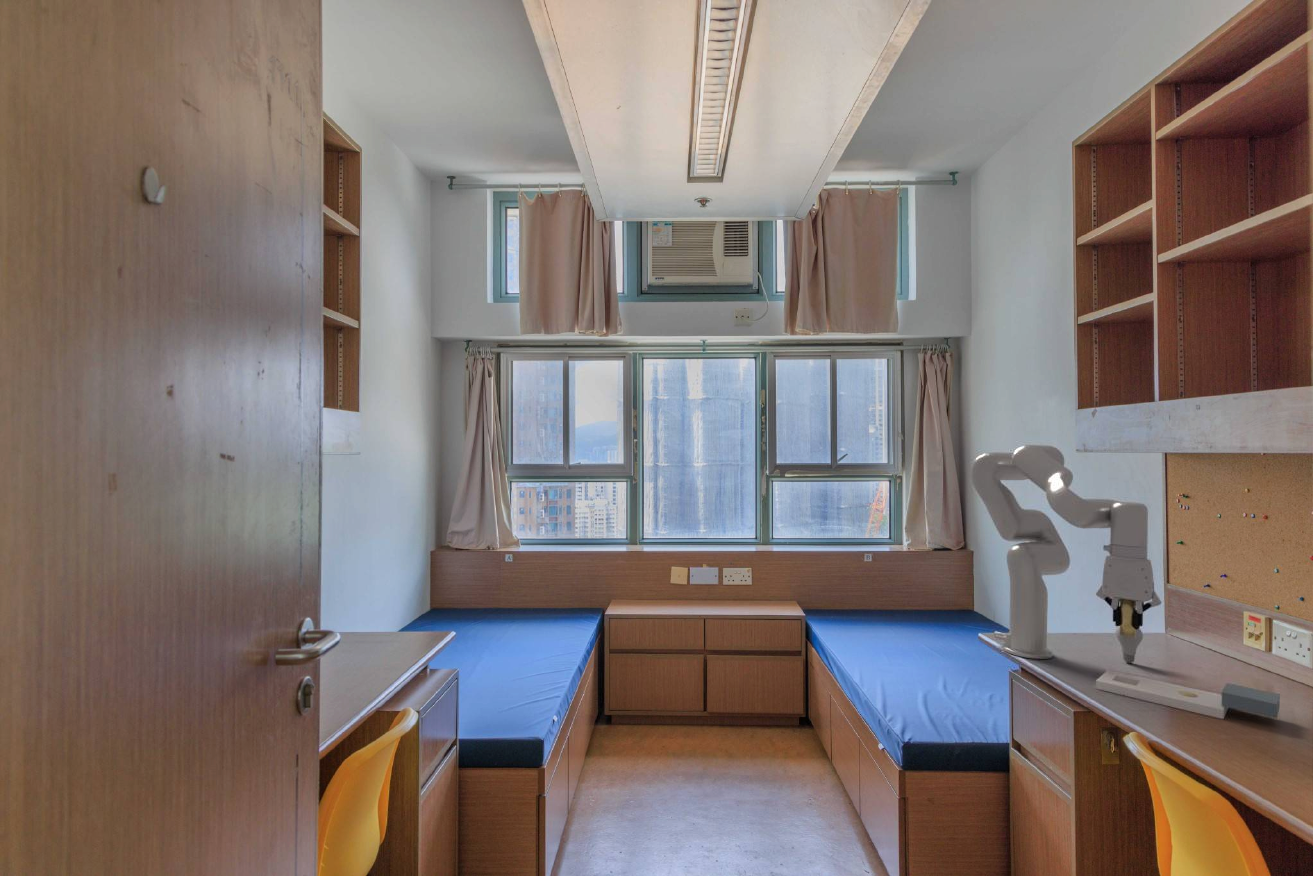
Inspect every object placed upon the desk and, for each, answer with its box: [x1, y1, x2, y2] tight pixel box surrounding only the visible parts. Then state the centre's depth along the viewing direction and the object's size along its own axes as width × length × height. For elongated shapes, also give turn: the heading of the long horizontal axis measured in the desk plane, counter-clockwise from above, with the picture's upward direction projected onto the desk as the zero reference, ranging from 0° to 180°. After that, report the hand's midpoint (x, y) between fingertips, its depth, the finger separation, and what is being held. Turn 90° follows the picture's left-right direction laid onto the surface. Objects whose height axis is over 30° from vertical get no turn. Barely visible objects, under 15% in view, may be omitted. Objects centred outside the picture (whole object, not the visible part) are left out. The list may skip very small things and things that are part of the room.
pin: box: [1119, 599, 1137, 637], centre depth 165 cm, size 3×3×9 cm
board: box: [1095, 669, 1230, 720], centre depth 160 cm, size 24×12×2 cm, turn 44°
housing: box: [1221, 682, 1281, 719], centre depth 148 cm, size 9×9×3 cm
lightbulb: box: [1115, 626, 1144, 664], centre depth 185 cm, size 6×6×11 cm
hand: (1127, 626), depth 165 cm, fingers closed on pin, 3 cm apart
